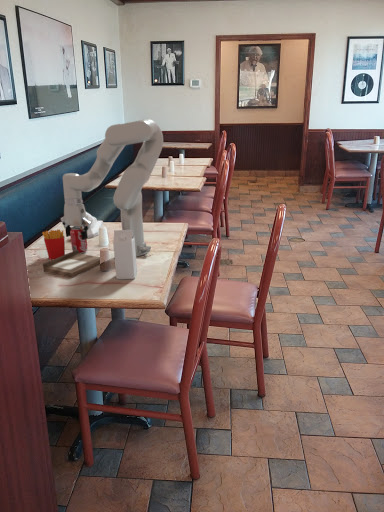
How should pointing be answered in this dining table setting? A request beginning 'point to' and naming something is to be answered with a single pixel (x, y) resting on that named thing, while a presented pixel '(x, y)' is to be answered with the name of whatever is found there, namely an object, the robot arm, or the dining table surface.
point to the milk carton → (125, 254)
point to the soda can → (78, 240)
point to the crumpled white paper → (93, 226)
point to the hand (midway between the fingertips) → (76, 237)
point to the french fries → (54, 243)
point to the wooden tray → (71, 264)
